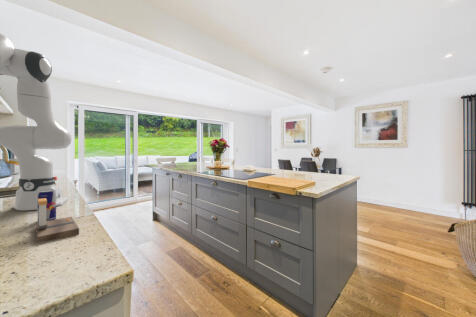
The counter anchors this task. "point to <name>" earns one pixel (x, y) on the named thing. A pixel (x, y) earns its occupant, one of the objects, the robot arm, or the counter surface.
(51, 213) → the energy drink
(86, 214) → the counter surface
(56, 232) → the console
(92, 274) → the counter surface
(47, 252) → the counter surface
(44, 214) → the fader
